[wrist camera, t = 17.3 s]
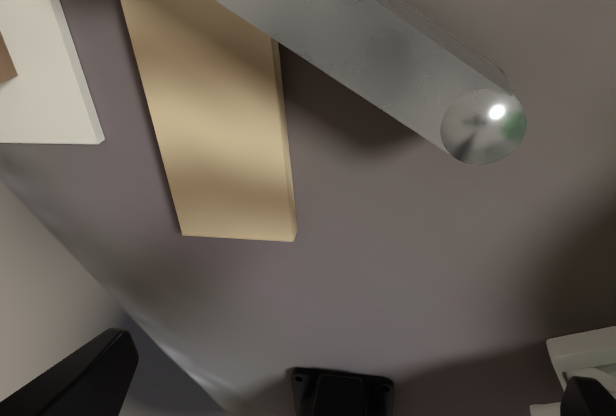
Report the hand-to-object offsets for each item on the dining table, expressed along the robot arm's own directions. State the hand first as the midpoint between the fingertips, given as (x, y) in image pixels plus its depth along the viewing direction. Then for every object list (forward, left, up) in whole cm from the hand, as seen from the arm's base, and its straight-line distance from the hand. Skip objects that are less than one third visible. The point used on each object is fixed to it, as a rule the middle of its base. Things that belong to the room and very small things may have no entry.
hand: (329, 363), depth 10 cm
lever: (+5, +2, -12) cm, 13 cm away
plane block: (+2, +7, -13) cm, 15 cm away
